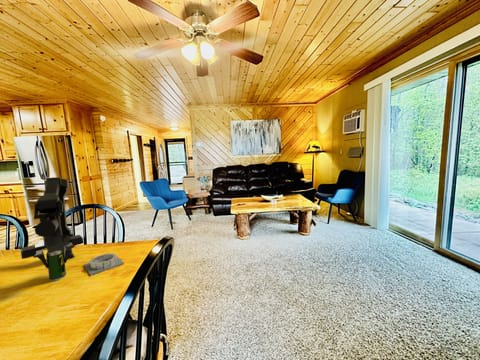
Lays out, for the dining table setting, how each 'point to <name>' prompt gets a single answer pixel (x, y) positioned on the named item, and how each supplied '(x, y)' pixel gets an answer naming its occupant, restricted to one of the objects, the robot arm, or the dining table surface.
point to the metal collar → (105, 264)
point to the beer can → (56, 265)
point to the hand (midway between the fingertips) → (56, 265)
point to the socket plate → (93, 272)
